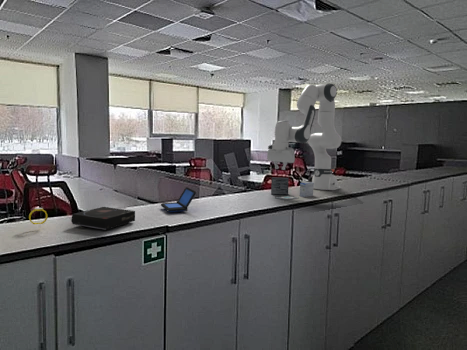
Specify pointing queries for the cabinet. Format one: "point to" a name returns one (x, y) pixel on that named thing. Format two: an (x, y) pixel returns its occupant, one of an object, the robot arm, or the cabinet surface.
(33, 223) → the yellow ring
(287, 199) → the card
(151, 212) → the cabinet surface
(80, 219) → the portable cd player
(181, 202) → the handheld game console
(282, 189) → the small box
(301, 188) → the medicine box
